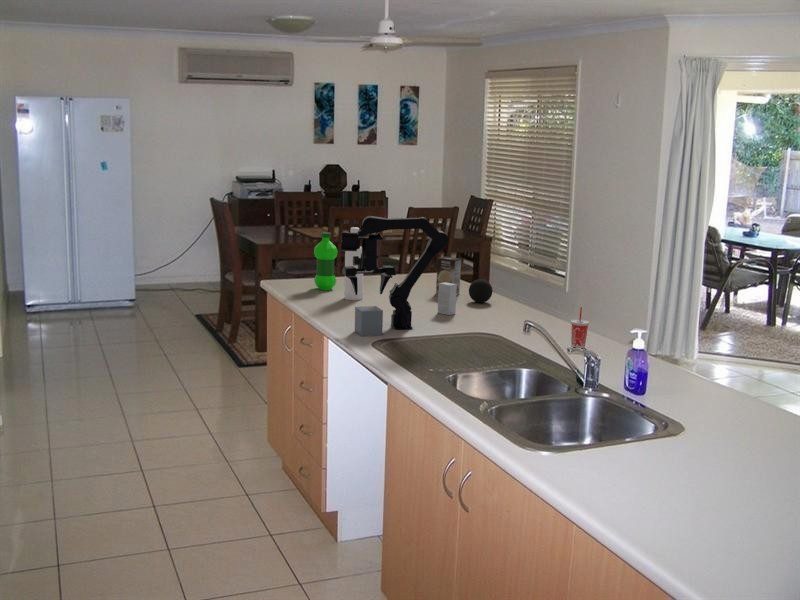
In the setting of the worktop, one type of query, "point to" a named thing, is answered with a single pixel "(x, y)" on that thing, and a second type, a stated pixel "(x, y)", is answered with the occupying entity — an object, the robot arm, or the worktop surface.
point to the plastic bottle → (325, 262)
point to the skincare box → (447, 298)
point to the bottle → (349, 289)
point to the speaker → (480, 291)
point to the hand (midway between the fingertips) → (368, 294)
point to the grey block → (368, 320)
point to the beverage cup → (579, 332)
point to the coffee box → (448, 272)
